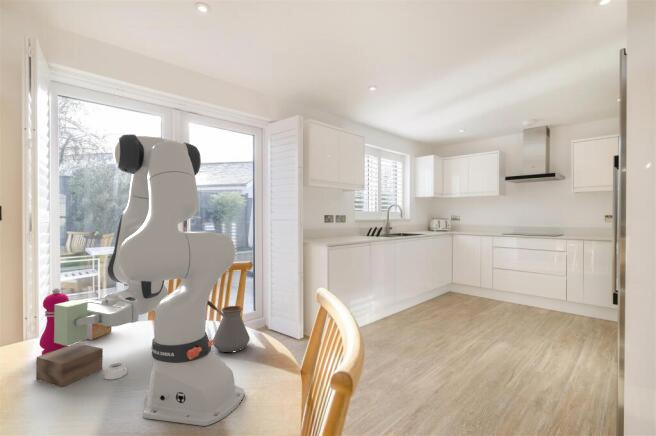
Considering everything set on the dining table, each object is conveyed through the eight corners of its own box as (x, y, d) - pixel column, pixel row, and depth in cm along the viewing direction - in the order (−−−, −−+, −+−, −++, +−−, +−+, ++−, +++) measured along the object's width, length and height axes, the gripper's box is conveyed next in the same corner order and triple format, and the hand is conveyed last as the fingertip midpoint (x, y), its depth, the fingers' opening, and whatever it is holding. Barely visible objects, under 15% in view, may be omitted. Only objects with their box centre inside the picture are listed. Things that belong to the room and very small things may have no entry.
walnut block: (102, 370, 90) (102, 348, 90) (62, 388, 80) (62, 364, 80) (77, 363, 93) (77, 342, 93) (36, 380, 84) (36, 357, 84)
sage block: (87, 338, 88) (87, 302, 88) (66, 345, 84) (67, 306, 83) (74, 335, 90) (75, 299, 90) (54, 342, 85) (54, 304, 85)
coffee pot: (257, 346, 108) (257, 300, 107) (230, 359, 98) (231, 309, 97) (212, 333, 118) (212, 291, 118) (184, 343, 108) (184, 298, 108)
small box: (91, 340, 109) (92, 309, 109) (78, 338, 110) (78, 307, 110) (112, 332, 117) (112, 302, 117) (99, 330, 118) (99, 301, 118)
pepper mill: (32, 358, 95) (33, 290, 95) (58, 348, 102) (59, 284, 102) (52, 361, 93) (52, 292, 93) (76, 351, 100) (77, 286, 100)
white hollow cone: (131, 372, 89) (114, 370, 89) (131, 361, 89) (114, 360, 89) (116, 381, 84) (99, 380, 85) (116, 370, 84) (99, 368, 84)
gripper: (93, 292, 102) (42, 304, 89) (142, 300, 95) (94, 314, 82) (93, 312, 103) (42, 327, 90) (142, 322, 95) (93, 339, 82)
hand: (67, 321), depth 86 cm, fingers closed on sage block, 5 cm apart
